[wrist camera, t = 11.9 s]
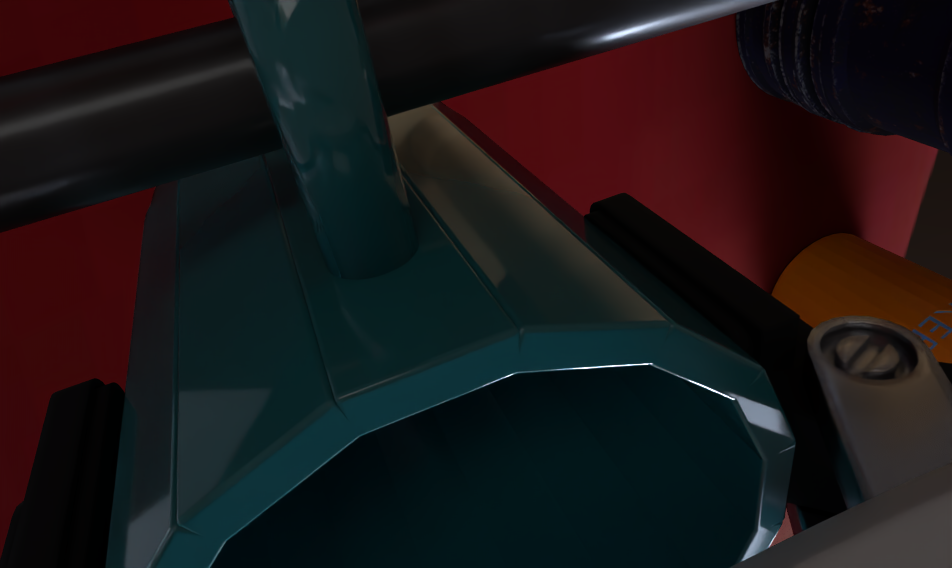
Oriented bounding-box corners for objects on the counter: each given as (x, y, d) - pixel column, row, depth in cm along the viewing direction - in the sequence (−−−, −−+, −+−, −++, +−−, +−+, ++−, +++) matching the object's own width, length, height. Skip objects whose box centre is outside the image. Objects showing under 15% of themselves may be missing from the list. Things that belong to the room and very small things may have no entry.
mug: (517, 317, 17) (766, 641, 10) (232, 425, 15) (277, 904, 8) (429, -197, 11) (932, -358, 4) (-57, -100, 9) (-899, -33, 2)
